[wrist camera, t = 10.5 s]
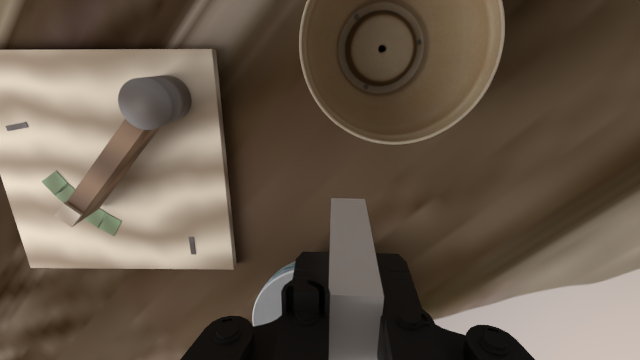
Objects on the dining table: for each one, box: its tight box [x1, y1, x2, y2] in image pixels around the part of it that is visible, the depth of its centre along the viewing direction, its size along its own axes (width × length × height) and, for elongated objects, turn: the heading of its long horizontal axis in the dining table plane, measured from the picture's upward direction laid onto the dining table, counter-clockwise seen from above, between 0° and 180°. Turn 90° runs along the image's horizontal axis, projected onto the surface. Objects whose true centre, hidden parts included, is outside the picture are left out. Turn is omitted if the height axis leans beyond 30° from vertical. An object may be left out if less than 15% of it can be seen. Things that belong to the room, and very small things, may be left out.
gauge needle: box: [55, 75, 192, 227], centre depth 37 cm, size 19×5×6 cm, turn 138°
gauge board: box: [0, 49, 237, 269], centre depth 42 cm, size 27×27×2 cm
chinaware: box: [252, 261, 296, 326], centre depth 44 cm, size 15×15×8 cm
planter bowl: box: [299, 0, 505, 145], centre depth 32 cm, size 16×16×11 cm
